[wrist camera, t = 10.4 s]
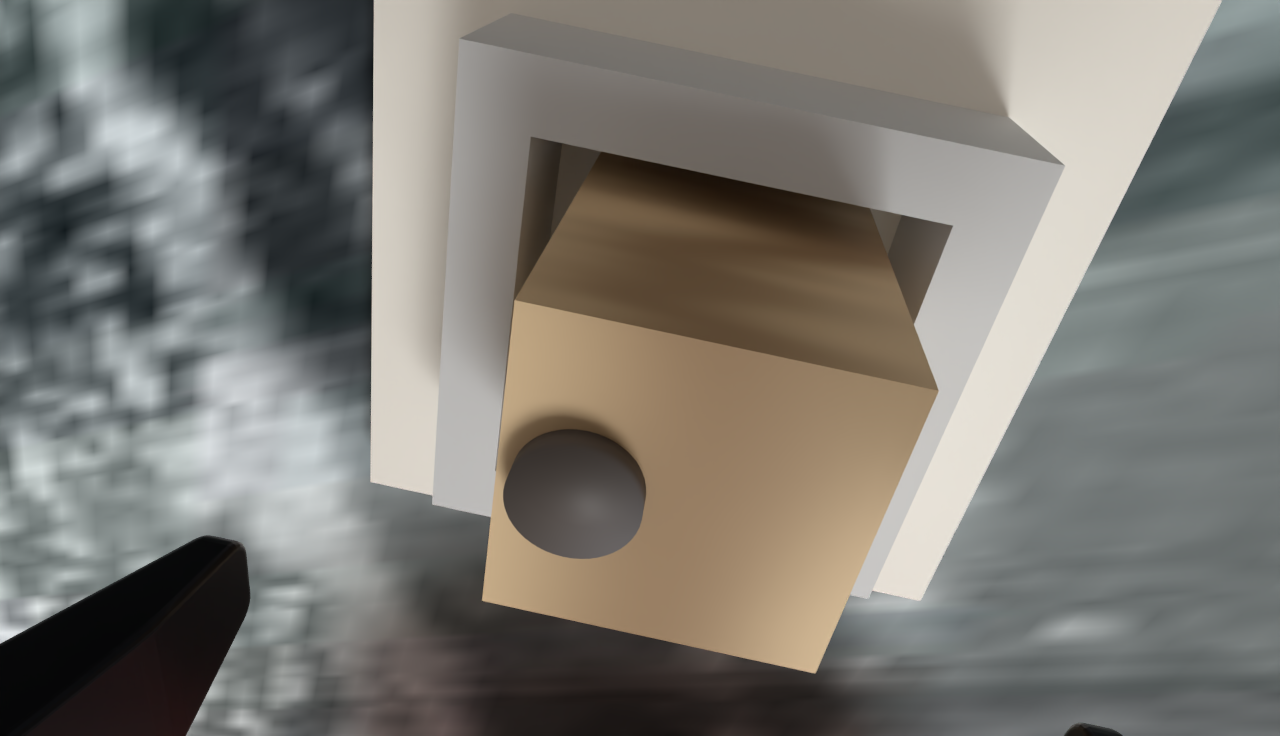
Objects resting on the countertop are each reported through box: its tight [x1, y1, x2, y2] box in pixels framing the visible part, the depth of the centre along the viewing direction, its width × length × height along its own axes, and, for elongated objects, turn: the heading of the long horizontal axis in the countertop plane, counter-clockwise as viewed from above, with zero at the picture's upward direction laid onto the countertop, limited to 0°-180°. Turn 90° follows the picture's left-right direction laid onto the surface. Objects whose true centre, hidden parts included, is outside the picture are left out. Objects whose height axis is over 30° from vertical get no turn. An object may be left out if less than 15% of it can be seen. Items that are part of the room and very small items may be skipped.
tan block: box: [482, 151, 939, 673], centre depth 14 cm, size 5×5×7 cm
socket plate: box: [371, 0, 1222, 601], centre depth 16 cm, size 14×14×4 cm
